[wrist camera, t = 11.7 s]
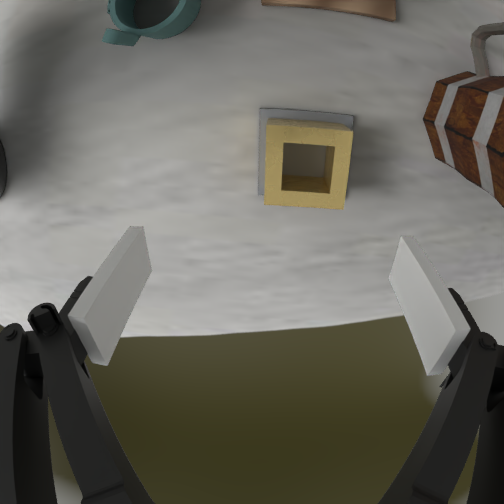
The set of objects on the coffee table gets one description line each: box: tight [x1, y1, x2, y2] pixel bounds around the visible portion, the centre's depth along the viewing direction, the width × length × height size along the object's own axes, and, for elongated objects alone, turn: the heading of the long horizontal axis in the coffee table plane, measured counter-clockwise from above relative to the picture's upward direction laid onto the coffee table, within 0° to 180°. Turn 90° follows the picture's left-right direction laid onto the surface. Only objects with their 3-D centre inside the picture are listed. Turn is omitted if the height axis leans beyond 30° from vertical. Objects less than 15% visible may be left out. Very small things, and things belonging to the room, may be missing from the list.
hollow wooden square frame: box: [264, 118, 353, 210], centre depth 30 cm, size 8×8×5 cm
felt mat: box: [258, 108, 353, 195], centre depth 33 cm, size 10×10×1 cm
